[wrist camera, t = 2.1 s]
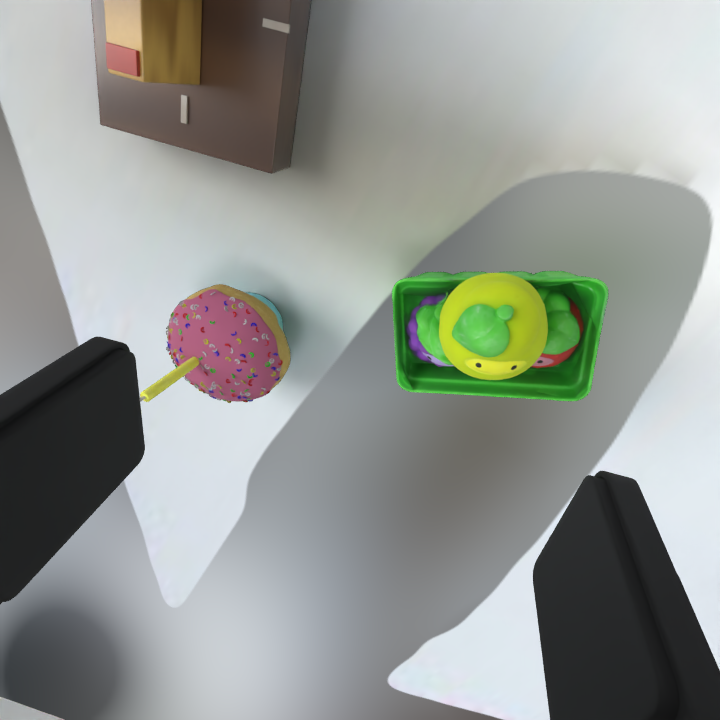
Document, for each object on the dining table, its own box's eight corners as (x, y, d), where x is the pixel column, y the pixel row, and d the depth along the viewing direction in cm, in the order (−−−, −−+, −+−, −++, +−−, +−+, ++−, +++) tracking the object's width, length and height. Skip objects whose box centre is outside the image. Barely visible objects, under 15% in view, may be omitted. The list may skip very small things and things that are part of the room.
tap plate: (117, -189, 23) (68, -228, 20) (332, -140, 22) (311, -174, 19) (130, 122, 30) (96, 124, 27) (291, 167, 29) (272, 174, 26)
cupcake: (214, 362, 38) (119, 458, 28) (193, 263, 34) (72, 334, 24) (312, 371, 36) (248, 477, 26) (302, 268, 32) (222, 346, 22)
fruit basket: (407, 355, 34) (378, 456, 24) (402, 235, 30) (366, 300, 20) (573, 361, 31) (615, 476, 22) (594, 229, 27) (657, 301, 17)
